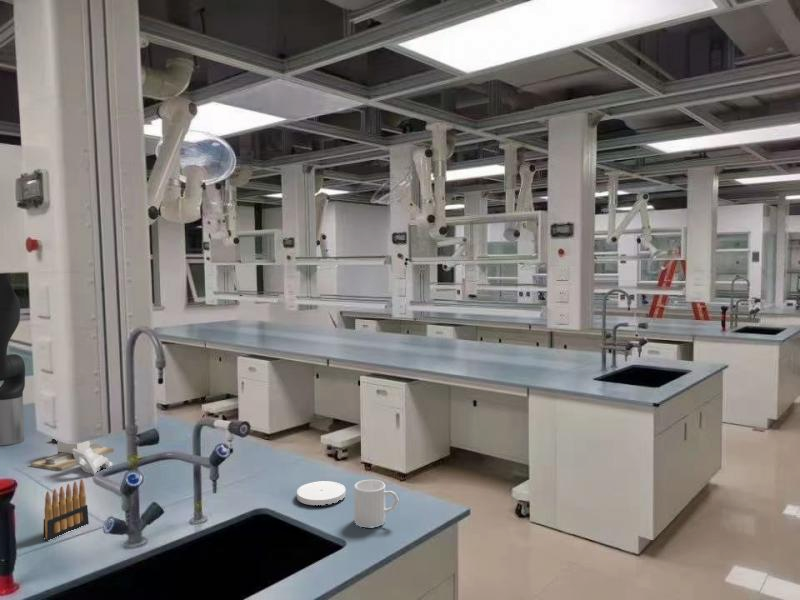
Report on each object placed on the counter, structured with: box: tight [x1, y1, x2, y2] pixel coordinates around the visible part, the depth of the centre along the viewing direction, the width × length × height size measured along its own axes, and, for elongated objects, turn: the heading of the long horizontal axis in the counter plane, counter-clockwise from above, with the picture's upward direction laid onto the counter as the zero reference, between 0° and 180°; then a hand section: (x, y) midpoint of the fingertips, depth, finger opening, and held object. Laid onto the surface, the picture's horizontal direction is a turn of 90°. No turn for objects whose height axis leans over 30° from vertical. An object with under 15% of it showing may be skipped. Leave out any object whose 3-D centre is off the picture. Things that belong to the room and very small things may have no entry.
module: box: [56, 440, 91, 459], centre depth 197 cm, size 9×5×8 cm, turn 71°
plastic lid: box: [296, 480, 347, 506], centre depth 163 cm, size 14×14×2 cm
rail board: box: [30, 442, 115, 471], centre depth 197 cm, size 14×21×2 cm, turn 161°
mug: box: [353, 479, 400, 527], centre depth 147 cm, size 8×12×10 cm
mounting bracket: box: [72, 447, 114, 475], centre depth 185 cm, size 12×6×11 cm, turn 55°
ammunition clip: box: [43, 478, 90, 541], centre depth 142 cm, size 11×2×12 cm, turn 154°
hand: (83, 375), depth 209 cm, fingers open, 8 cm apart
